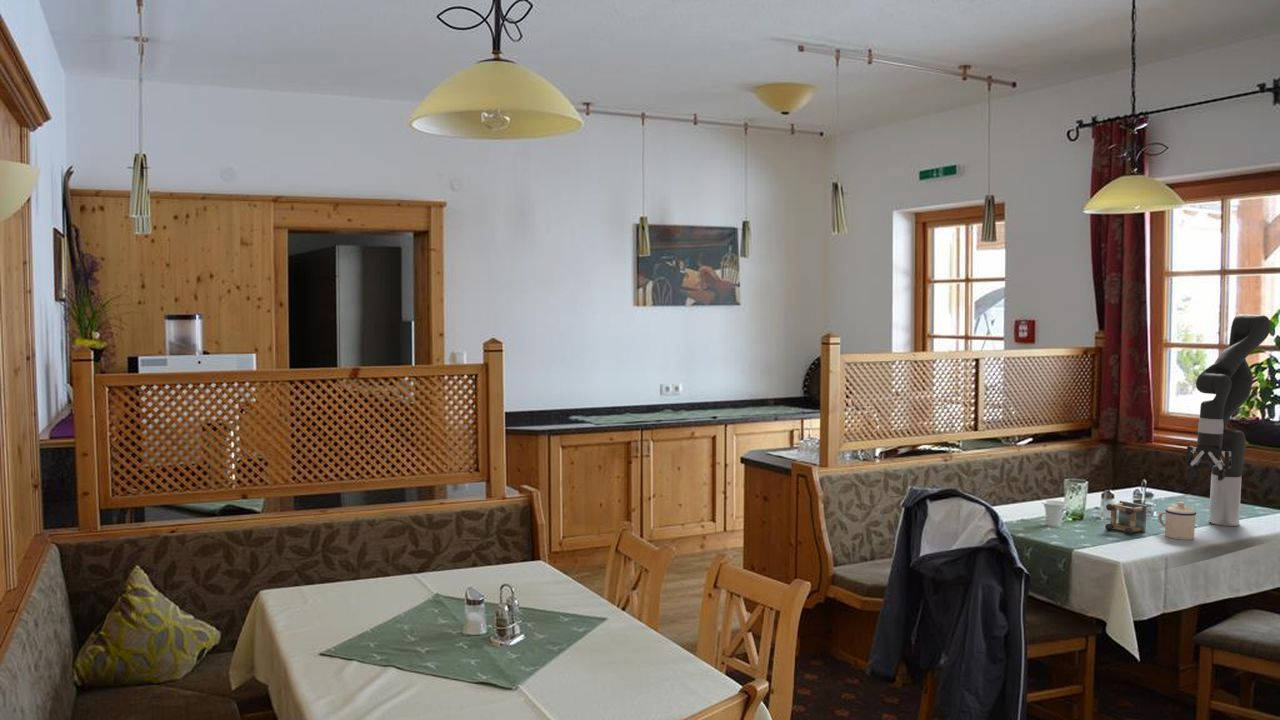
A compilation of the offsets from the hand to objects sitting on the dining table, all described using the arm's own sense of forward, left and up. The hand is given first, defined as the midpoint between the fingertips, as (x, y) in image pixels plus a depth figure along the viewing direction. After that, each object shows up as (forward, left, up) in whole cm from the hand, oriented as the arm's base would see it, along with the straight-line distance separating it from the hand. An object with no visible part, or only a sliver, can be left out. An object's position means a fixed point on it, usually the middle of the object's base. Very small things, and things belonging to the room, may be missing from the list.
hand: (1207, 478), depth 351 cm
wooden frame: (+27, -13, -17) cm, 35 cm away
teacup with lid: (+20, 0, -18) cm, 26 cm away
